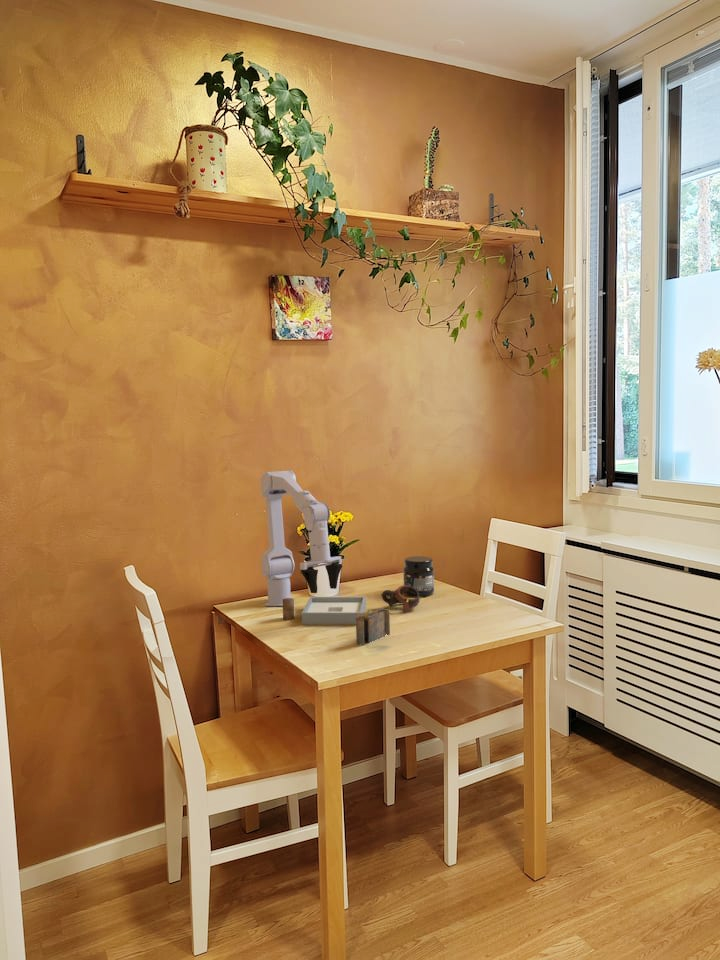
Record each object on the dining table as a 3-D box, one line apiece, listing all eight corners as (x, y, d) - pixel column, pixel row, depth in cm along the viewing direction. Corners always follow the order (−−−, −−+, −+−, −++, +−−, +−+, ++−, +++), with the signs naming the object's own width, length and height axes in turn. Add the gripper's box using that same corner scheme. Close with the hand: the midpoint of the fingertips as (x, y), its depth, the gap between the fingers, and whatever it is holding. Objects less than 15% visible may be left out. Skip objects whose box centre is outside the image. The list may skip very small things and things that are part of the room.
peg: (284, 617, 226) (283, 598, 225) (295, 617, 226) (294, 598, 225) (282, 620, 223) (281, 601, 222) (293, 620, 222) (292, 601, 222)
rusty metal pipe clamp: (413, 604, 239) (421, 585, 235) (414, 624, 231) (422, 605, 227) (378, 596, 238) (385, 577, 233) (378, 616, 230) (385, 597, 225)
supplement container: (406, 588, 257) (405, 555, 255) (436, 590, 254) (436, 556, 253) (400, 596, 246) (400, 561, 245) (432, 598, 244) (431, 562, 243)
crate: (310, 607, 236) (309, 596, 235) (366, 607, 235) (365, 596, 234) (302, 624, 218) (301, 613, 218) (362, 624, 217) (362, 613, 216)
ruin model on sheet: (364, 647, 198) (364, 612, 197) (356, 645, 200) (355, 610, 199) (391, 636, 207) (390, 602, 206) (382, 634, 209) (382, 601, 208)
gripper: (309, 547, 208) (313, 595, 208) (346, 541, 218) (351, 587, 218) (293, 547, 213) (298, 594, 213) (330, 541, 223) (335, 586, 223)
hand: (323, 590), depth 216 cm, fingers open, 7 cm apart
